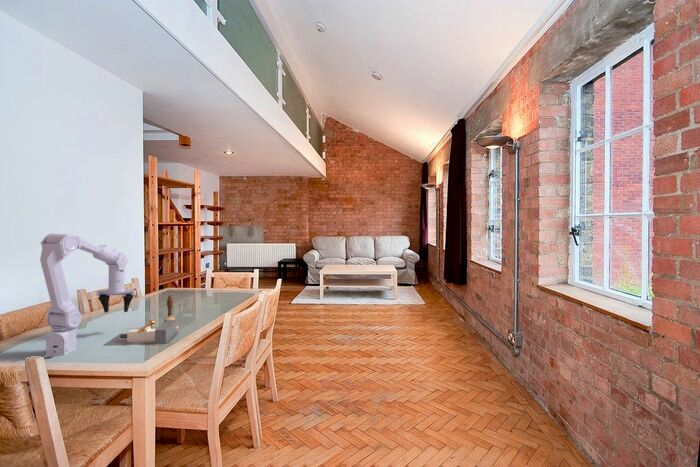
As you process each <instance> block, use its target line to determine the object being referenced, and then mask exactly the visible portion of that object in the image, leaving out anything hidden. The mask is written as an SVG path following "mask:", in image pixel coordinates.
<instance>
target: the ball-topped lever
mask: <svg viewBox="0 0 700 467" xmlns="http://www.w3.org/2000/svg"><path fill="white" fill-rule="evenodd" d="M155 323H156V320H155V319H153V320H152V319H150V320H148V322H147V323H146V324H145V325H143V326H142V327H141V328H138V329H139V330H138V333H141V332H142V331H143V330H144V329H145V328H147V327H148V326H150V325H151V324H154V325H155Z"/></svg>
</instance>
